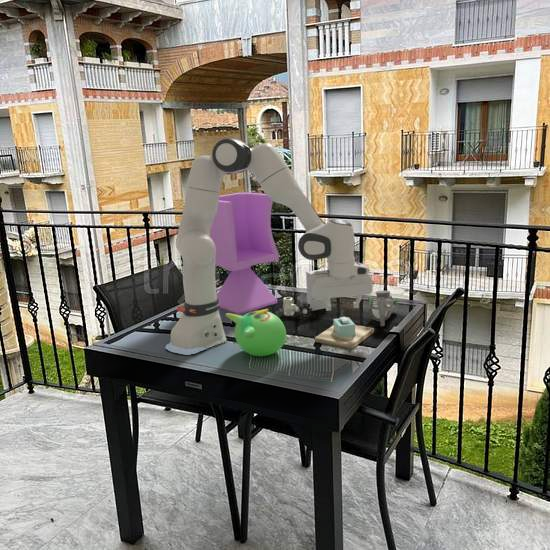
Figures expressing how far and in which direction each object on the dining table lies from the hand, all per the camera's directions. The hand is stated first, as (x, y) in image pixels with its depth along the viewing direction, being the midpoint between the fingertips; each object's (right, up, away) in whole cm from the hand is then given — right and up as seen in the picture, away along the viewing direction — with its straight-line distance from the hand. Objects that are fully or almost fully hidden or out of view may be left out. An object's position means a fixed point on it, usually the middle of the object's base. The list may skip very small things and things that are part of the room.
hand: (342, 308), depth 179 cm
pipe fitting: (+18, -4, +19) cm, 27 cm away
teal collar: (+1, -8, +3) cm, 9 cm away
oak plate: (+1, -10, +3) cm, 10 cm away
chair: (-35, -1, +46) cm, 58 cm away
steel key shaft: (+1, -8, +3) cm, 9 cm away
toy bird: (-27, -14, -5) cm, 31 cm away
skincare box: (-5, -2, +35) cm, 35 cm away
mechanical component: (+16, -7, +11) cm, 20 cm away
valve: (-14, -5, +27) cm, 31 cm away
